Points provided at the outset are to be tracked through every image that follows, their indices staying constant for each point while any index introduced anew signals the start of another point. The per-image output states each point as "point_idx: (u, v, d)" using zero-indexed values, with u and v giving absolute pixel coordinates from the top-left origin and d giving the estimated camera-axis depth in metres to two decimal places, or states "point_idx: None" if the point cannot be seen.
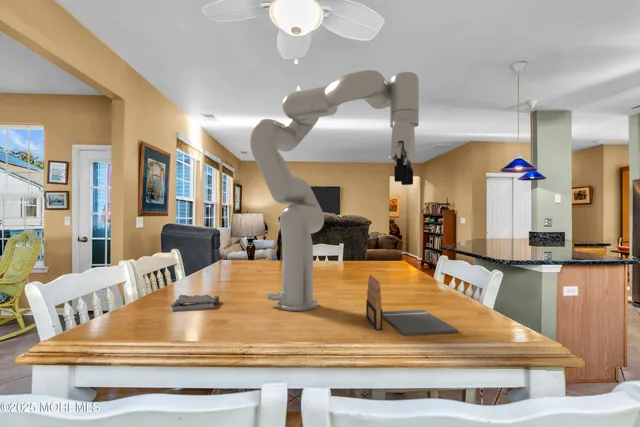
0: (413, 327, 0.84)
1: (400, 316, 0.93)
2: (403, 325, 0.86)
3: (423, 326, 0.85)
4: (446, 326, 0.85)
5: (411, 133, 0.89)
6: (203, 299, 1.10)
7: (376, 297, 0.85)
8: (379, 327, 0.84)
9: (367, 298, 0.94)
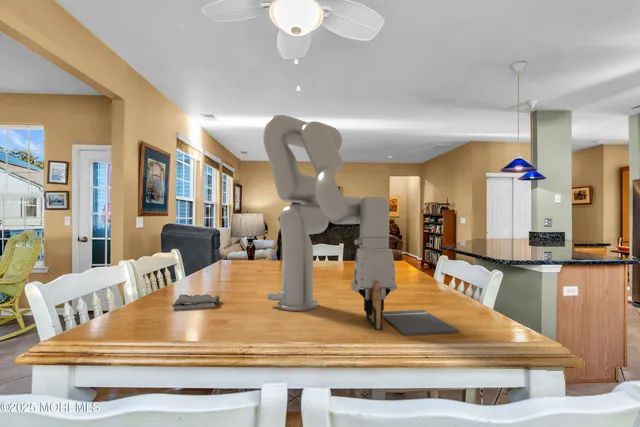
0: (413, 327, 0.84)
1: (400, 316, 0.93)
2: (403, 325, 0.86)
3: (423, 326, 0.85)
4: (446, 326, 0.85)
5: None
6: (204, 299, 1.11)
7: (376, 297, 0.85)
8: (379, 327, 0.84)
9: None
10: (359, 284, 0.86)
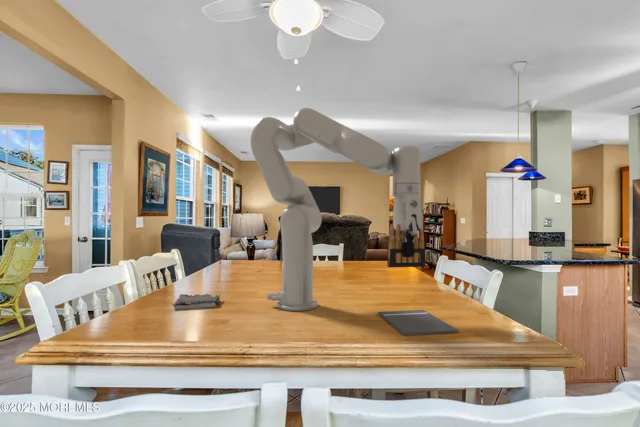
0: (413, 327, 0.84)
1: (400, 316, 0.93)
2: (403, 325, 0.86)
3: (423, 326, 0.85)
4: (446, 326, 0.85)
5: (394, 206, 0.98)
6: (204, 299, 1.11)
7: (423, 238, 0.96)
8: None
9: (393, 247, 0.94)
10: None
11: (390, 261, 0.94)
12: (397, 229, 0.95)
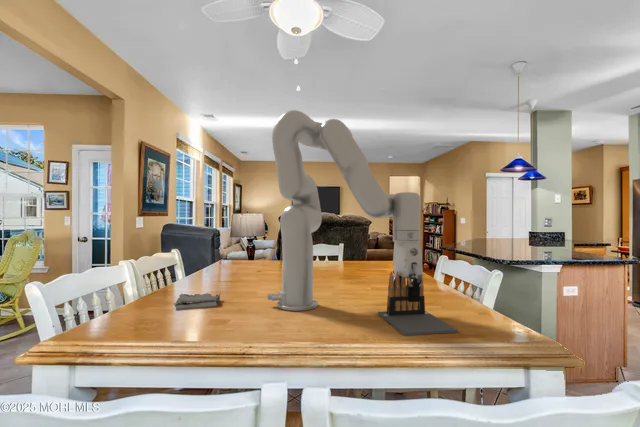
0: (413, 327, 0.84)
1: (400, 316, 0.93)
2: (403, 325, 0.86)
3: (423, 326, 0.85)
4: (446, 326, 0.85)
5: (394, 251, 0.98)
6: (204, 298, 1.12)
7: None
8: None
9: (392, 295, 0.94)
10: (422, 274, 0.92)
11: (390, 309, 0.94)
12: (397, 277, 0.95)
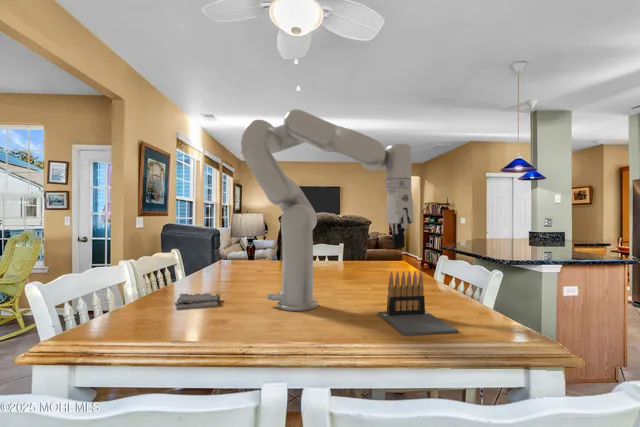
0: (413, 327, 0.84)
1: (400, 316, 0.93)
2: (403, 325, 0.86)
3: (423, 326, 0.85)
4: (446, 326, 0.85)
5: (387, 200, 1.04)
6: (204, 298, 1.13)
7: None
8: None
9: (392, 295, 0.94)
10: None
11: (390, 309, 0.94)
12: (397, 277, 0.95)
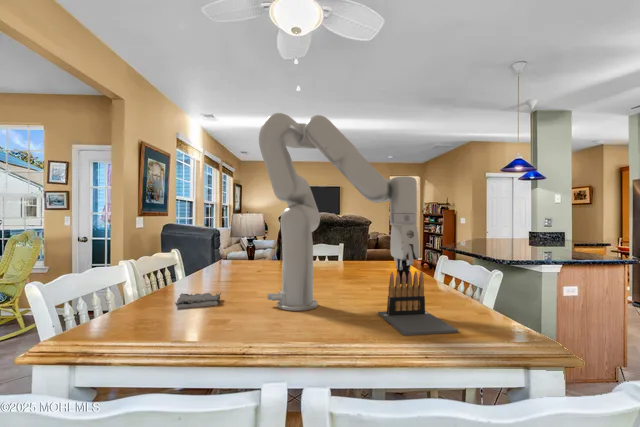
0: (413, 327, 0.84)
1: (400, 316, 0.93)
2: (403, 325, 0.86)
3: (423, 326, 0.85)
4: (446, 326, 0.85)
5: (391, 234, 1.00)
6: (204, 298, 1.13)
7: (423, 285, 0.96)
8: None
9: (393, 295, 0.94)
10: (418, 256, 0.94)
11: (390, 309, 0.94)
12: (397, 277, 0.95)
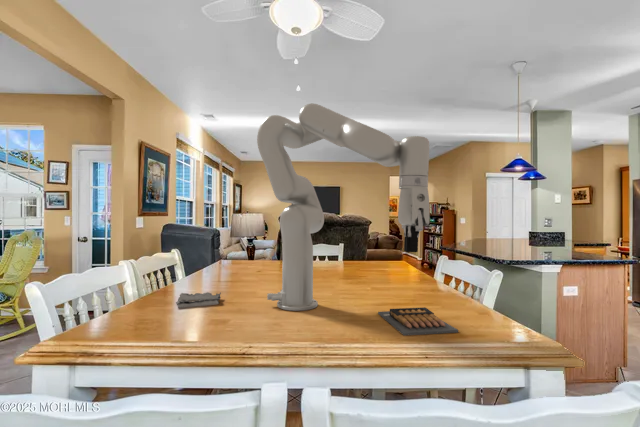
0: (413, 327, 0.84)
1: None
2: (403, 325, 0.86)
3: None
4: (446, 326, 0.85)
5: (400, 199, 0.94)
6: (204, 297, 1.13)
7: None
8: None
9: None
10: None
11: (392, 317, 0.92)
12: (414, 326, 0.84)
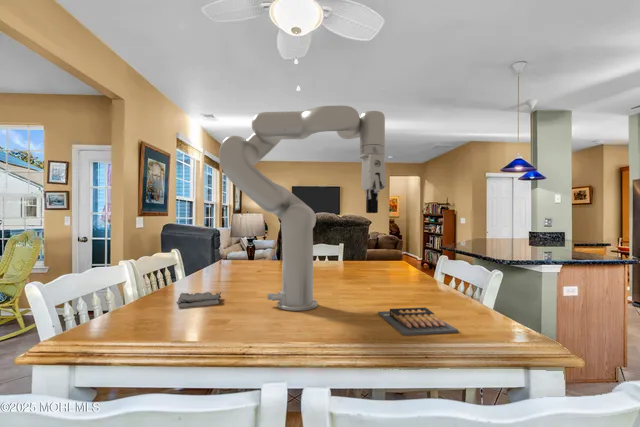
0: (413, 327, 0.84)
1: None
2: (403, 325, 0.86)
3: None
4: (446, 326, 0.85)
5: (362, 168, 1.06)
6: (205, 297, 1.14)
7: None
8: None
9: None
10: (385, 184, 1.00)
11: (392, 317, 0.92)
12: (414, 326, 0.84)
